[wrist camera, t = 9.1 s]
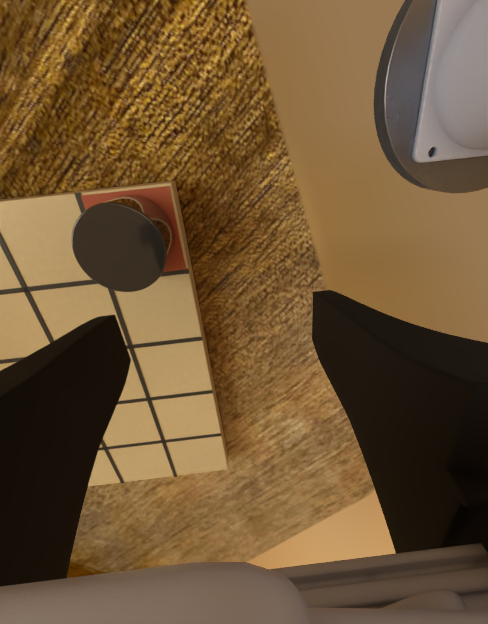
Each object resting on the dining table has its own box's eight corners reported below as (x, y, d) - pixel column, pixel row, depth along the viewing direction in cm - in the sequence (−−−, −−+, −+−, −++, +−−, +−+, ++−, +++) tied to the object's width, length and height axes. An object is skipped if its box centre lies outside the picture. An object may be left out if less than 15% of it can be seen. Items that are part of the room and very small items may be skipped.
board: (175, 180, 17) (171, 182, 15) (227, 455, 29) (228, 470, 27) (-175, 218, 17) (-212, 224, 15) (25, 479, 29) (15, 496, 27)
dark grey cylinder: (165, 189, 16) (154, 197, 13) (182, 267, 18) (175, 287, 15) (83, 199, 15) (55, 208, 13) (109, 275, 18) (89, 297, 15)
